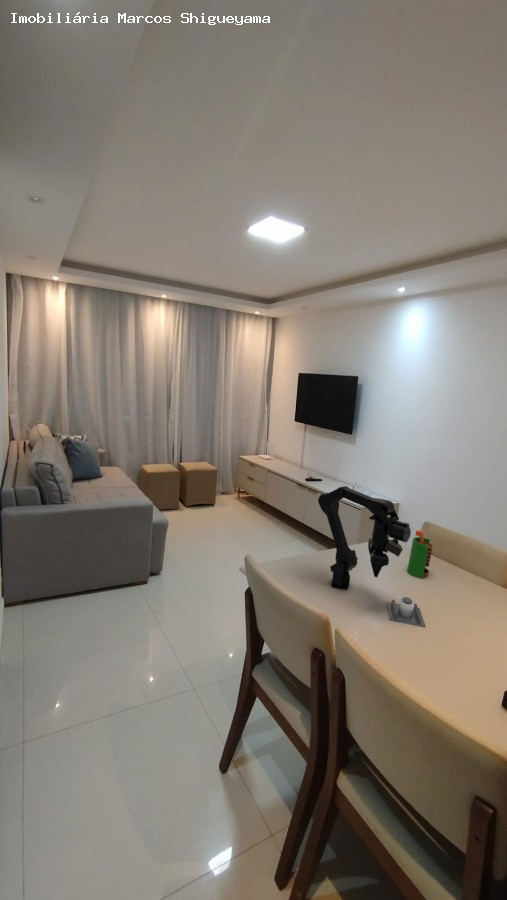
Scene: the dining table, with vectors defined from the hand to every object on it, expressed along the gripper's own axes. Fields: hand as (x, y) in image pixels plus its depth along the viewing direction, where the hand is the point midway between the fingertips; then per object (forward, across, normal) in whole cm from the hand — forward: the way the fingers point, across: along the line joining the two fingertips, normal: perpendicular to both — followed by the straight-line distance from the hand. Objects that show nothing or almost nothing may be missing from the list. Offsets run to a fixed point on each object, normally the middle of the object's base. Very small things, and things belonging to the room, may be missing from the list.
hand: (374, 571), depth 156 cm
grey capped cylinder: (+11, -6, -12) cm, 18 cm away
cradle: (+12, -6, -12) cm, 18 cm away
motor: (+12, +33, -23) cm, 42 cm away
